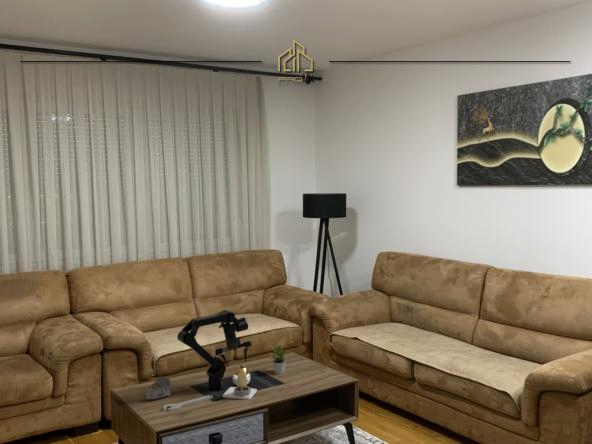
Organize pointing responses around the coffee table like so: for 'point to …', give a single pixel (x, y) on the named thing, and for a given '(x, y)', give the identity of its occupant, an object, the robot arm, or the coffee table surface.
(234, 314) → the robot arm
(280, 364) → the house plant
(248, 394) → the pipe plate
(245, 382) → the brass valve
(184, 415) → the coffee table surface
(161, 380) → the mineral rock
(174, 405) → the adjustable wrench
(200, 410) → the coffee table surface
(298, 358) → the coffee table surface
